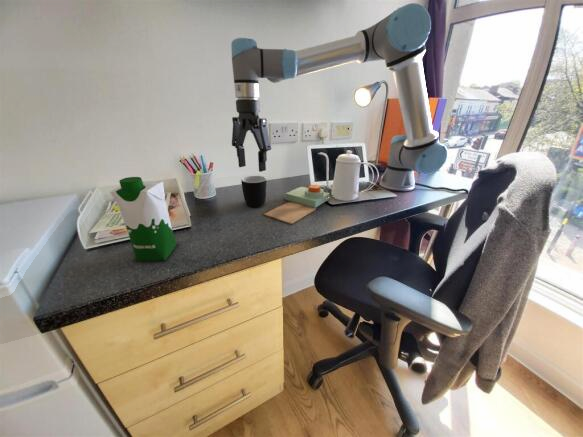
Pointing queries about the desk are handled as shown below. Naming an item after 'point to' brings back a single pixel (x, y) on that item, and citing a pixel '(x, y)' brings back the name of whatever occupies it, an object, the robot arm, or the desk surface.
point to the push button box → (307, 197)
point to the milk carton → (145, 218)
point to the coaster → (290, 212)
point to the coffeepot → (346, 176)
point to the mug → (254, 190)
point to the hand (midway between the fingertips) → (252, 168)
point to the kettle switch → (314, 188)
